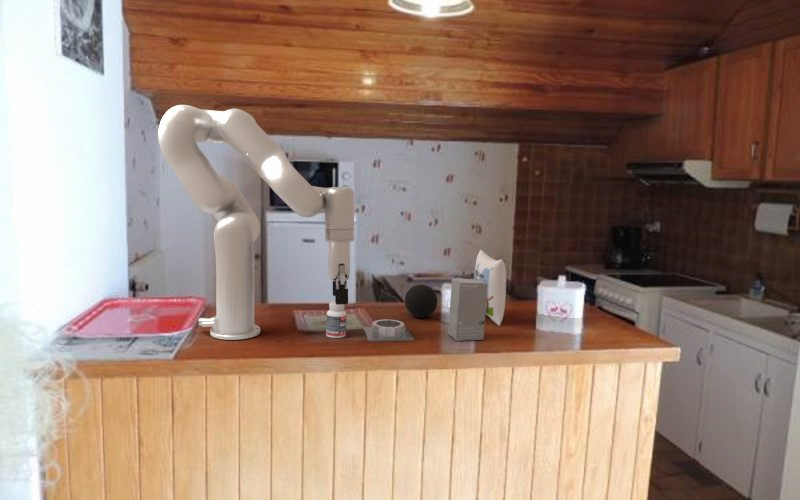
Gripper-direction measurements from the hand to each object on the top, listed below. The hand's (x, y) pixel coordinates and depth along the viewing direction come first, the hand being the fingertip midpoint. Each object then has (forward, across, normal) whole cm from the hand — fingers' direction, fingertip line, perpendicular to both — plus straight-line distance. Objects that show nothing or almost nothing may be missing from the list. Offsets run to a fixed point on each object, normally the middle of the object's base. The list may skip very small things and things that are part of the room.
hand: (340, 299), depth 150 cm
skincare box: (+11, +3, +34) cm, 36 cm away
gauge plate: (+10, 0, +13) cm, 16 cm away
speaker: (+11, -18, +26) cm, 33 cm away
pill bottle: (+10, 0, -1) cm, 10 cm away
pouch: (+12, -16, +47) cm, 51 cm away
